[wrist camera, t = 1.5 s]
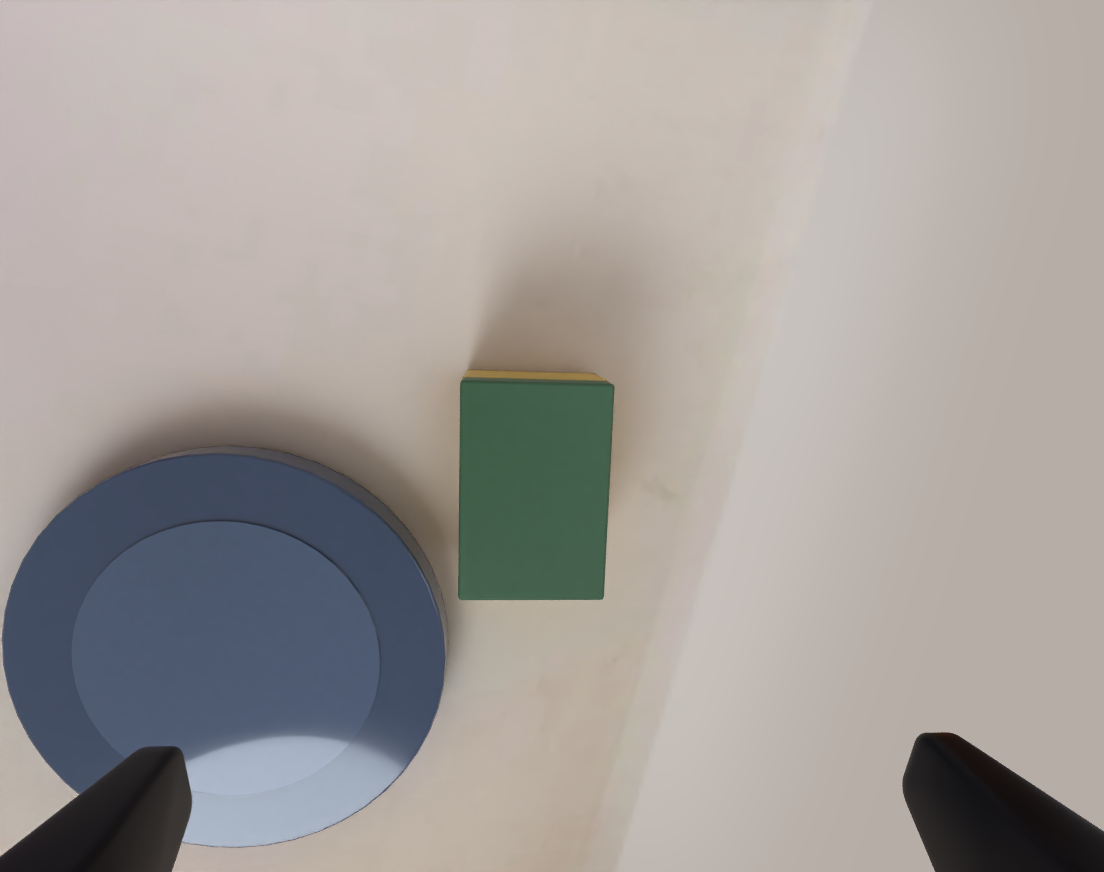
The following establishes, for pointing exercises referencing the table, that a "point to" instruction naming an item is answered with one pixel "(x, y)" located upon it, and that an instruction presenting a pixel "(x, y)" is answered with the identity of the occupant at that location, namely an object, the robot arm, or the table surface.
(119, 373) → the table surface
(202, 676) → the plate
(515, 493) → the sponge
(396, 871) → the table surface
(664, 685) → the table surface
